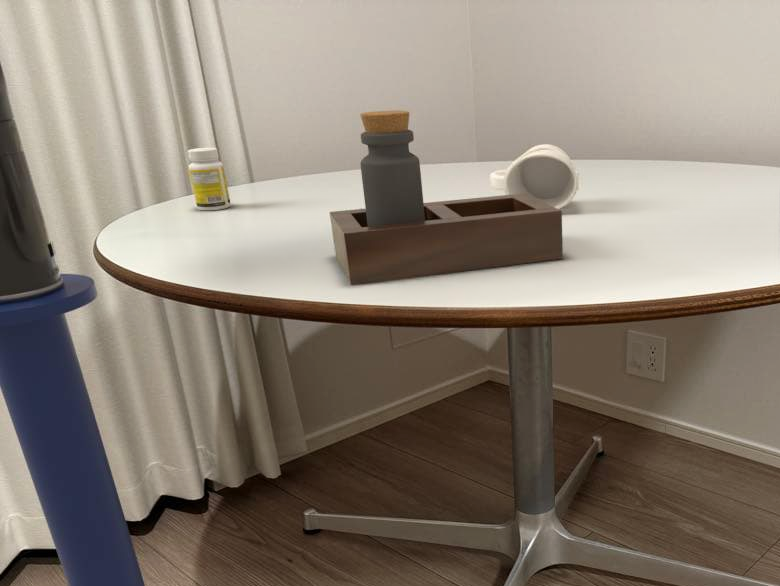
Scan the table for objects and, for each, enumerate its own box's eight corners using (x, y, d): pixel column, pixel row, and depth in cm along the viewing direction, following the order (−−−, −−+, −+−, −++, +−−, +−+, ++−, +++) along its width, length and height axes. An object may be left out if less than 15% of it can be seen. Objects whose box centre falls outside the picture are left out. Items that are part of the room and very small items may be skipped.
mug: (579, 201, 112) (579, 142, 109) (578, 214, 104) (577, 151, 101) (496, 203, 113) (493, 145, 110) (488, 216, 105) (484, 153, 102)
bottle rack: (563, 258, 83) (562, 210, 80) (350, 285, 76) (343, 233, 74) (525, 236, 93) (523, 193, 91) (335, 257, 86) (329, 211, 84)
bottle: (417, 254, 86) (402, 108, 80) (437, 265, 82) (424, 111, 75) (365, 262, 84) (346, 112, 78) (383, 274, 79) (364, 115, 73)
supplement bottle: (212, 204, 120) (200, 147, 117) (237, 205, 119) (226, 147, 116) (190, 210, 116) (177, 151, 113) (216, 211, 115) (204, 151, 111)
